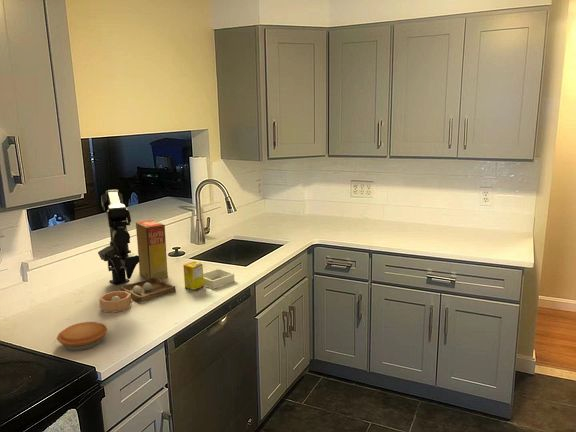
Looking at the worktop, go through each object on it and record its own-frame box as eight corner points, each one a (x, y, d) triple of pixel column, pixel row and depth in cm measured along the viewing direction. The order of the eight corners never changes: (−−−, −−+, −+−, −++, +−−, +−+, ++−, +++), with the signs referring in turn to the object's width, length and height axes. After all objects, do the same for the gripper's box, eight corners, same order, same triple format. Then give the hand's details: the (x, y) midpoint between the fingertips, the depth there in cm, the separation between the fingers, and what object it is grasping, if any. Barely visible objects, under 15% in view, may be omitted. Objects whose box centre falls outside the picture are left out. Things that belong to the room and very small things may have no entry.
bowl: (96, 307, 187) (95, 296, 186) (122, 299, 195) (121, 288, 194) (109, 315, 180) (108, 304, 179) (136, 306, 188) (135, 295, 187)
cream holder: (196, 282, 212) (196, 275, 212) (219, 275, 221) (218, 268, 221) (212, 289, 205) (212, 281, 204) (235, 281, 213) (234, 273, 213)
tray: (120, 292, 202) (119, 287, 202) (154, 282, 214) (153, 277, 213) (141, 303, 191) (140, 297, 190) (175, 291, 202) (175, 286, 201)
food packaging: (169, 276, 220) (165, 224, 215) (149, 281, 215) (145, 227, 209) (157, 269, 231) (153, 219, 225) (138, 273, 225) (134, 222, 219)
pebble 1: (109, 305, 187) (108, 296, 187) (118, 302, 190) (117, 293, 189) (114, 307, 185) (112, 298, 184) (122, 304, 187) (121, 295, 187)
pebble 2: (131, 294, 198) (130, 285, 198) (139, 291, 201) (138, 283, 200) (135, 296, 196) (135, 288, 195) (143, 293, 199) (142, 285, 198)
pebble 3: (141, 290, 202) (141, 282, 201) (149, 288, 204) (148, 280, 204) (146, 293, 199) (145, 284, 199) (153, 290, 202) (153, 282, 201)
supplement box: (195, 284, 210) (193, 261, 208) (204, 287, 206) (202, 263, 204) (184, 288, 206) (182, 264, 203) (193, 291, 202) (192, 267, 199)
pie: (112, 330, 168) (111, 317, 167) (102, 351, 153) (101, 337, 152) (66, 333, 165) (64, 320, 164) (51, 356, 150) (49, 341, 149)
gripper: (89, 237, 187) (93, 275, 190) (111, 247, 174) (114, 287, 178) (116, 232, 194) (119, 268, 198) (139, 241, 182) (142, 279, 185)
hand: (123, 275), depth 189 cm, fingers open, 9 cm apart
